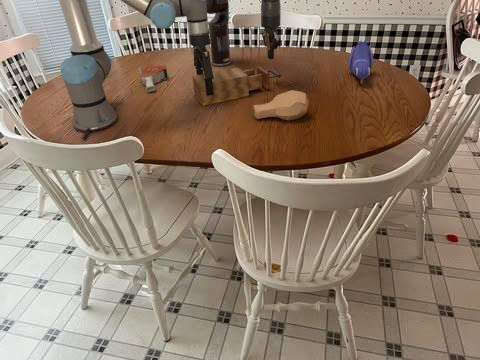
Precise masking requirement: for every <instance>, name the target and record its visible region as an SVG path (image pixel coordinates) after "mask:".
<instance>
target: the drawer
mask: <svg viewBox="0 0 480 360" xmlns="http://www.w3.org/2000/svg"><path fill="white" fill-rule="evenodd" d="M242 71H243V72H244V73H245V74H247V75H248V85H249V92H250V91H253V90H259V89H262V88H265V89H266V90H268V89H270V79H274V78H280V77H281V74H280V73H279V72H277V71H276V70H274V69H272V68H269V70H266V69H264V68H263V67H261V66H259V65H258V66H256V69H255V68H251V69H246V70H242ZM270 73H271V74H273V75H271V76H270Z"/></svg>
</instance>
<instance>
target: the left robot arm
mask: <svg viewBox="0 0 480 360" xmlns="http://www.w3.org/2000/svg"><path fill="white" fill-rule="evenodd" d="M119 1H121V2H122V3H124V4H125V5H127V6H129V7H130V8H132V9H133V10H135V11H136V12H138V13H140V14H141V15H143V16H144V17H146V18H147V19H149V20H150V21H151V23H152V24H153V25H154V26H155V27H156V28H157V29H160V30H166V29H169V28H171V26H172V25H173V24H175V22H176V19H177V18H185V17H186V25H187V33H188V39H189V45H190V46H191V47H192V50H193V67H195V68H194V69H195V72H196V75H201V74H204V75H205V78H204V80H205V87H206V95H207V96H210V95H214V93H213V84H212V79H214V76H213V72H214V71H213V68H212V66H213V65H212V60H211V55H210V54H211V53H210V51H209V50H208V49H207V48H206V46H208V45H209V44H210V34H209V22H210V21H208V13H207V7H206V0H119ZM58 2H59V5H60V8H61V11H62V14H63V18H64V21H65V23H66V27H67V31H68V33H69V36H70V39H71V43H72V44H71V46H70V48H69V52H70V55H71V56H70V57H69V58H68V57H67V58H65V59H63V61H62V62H61V63H60V66H59V69H60V74H61V77H62V79H63V82H64V84H65V87H66V90H67V93H68V96H69V99H70V101H71V104H72V108H73V114H72V117H73V118H72V119H73V125H74V128H75V129H76V131H78V132H84V134H83V136H82V138H81V139H82V140H83V141H84V140H86V139H87V136H88V135H89V133H92V132H99V131H102V130H105V129H107V128H110V127H111V126H113V125H115V124H116V122H117V121H118V116H117V113H116V111H115V110H114V108H113V107H112V105H111V103H110V102H109V101H108V99H107V96H106V92H105V90H104V87H103V86H104V85H103V83H104V82H105V80H106V79H107V78H108V76H109V75H110V73H111V69H112V61H111V57H110V56H109V54H108V53H107V52H106V51H105V48H104V44H103V43H102V42H101V41H99V40H98V37H97V34H96V31H95V27H94V23H93V19H92V16H91V12H90V8H89V5H88V1H87V0H58Z"/></svg>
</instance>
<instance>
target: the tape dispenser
mask: <svg viewBox="0 0 480 360" xmlns="http://www.w3.org/2000/svg"><path fill="white" fill-rule="evenodd" d="M153 69H154V70H153ZM137 71H138V73H139V77H140V79H141V82H142V84H143V85H144V86H146V87H145V91H146V92H147V93H152V92H154V91H156V86H155V84H157V83H160V82H161V81H162V80H163V81H164V80H168V77H169V75H168V70H167V67H166V65H165V64H164V65H162V64H161V65H156V66H150V67H143V68H142V67H140V68H138V70H137Z"/></svg>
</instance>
